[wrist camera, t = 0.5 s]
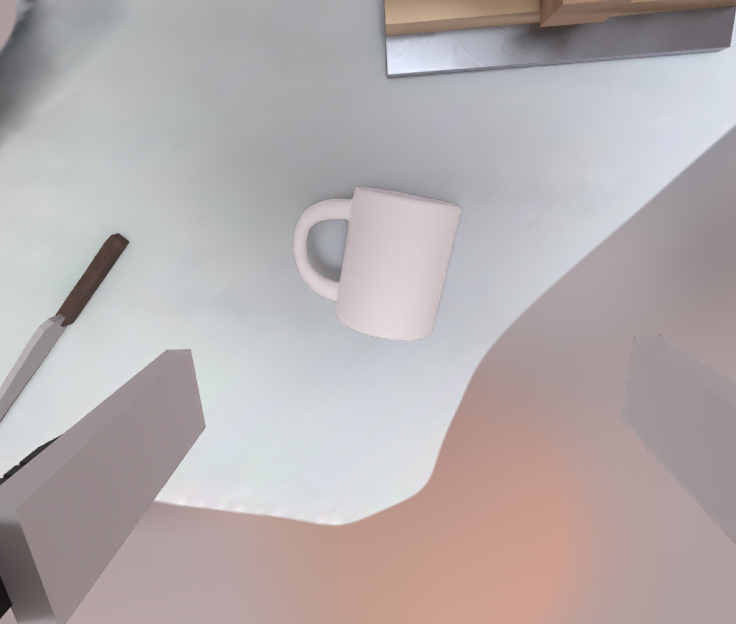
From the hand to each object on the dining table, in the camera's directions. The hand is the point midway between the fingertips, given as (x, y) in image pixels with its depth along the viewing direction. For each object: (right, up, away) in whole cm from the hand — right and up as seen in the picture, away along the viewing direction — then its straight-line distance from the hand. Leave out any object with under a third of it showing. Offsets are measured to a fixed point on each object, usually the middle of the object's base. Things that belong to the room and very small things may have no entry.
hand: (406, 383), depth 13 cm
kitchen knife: (-32, -2, +29) cm, 44 cm away
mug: (-1, +8, +24) cm, 26 cm away
